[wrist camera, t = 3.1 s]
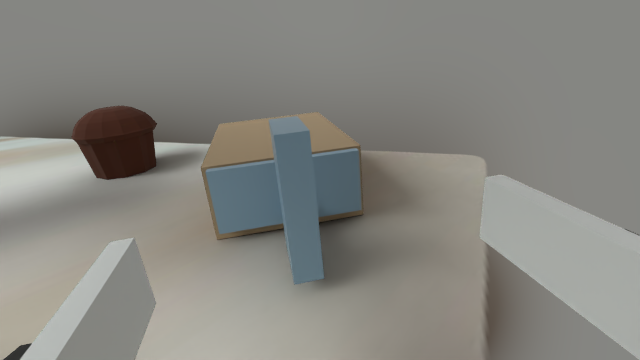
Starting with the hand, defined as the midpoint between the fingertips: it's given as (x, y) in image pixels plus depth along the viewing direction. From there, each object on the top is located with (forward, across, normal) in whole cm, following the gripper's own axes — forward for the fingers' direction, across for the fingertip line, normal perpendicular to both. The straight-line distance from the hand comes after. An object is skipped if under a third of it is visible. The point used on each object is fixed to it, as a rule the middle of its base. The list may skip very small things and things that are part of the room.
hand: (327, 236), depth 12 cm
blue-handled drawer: (+22, 0, -7) cm, 23 cm away
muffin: (+46, -24, -8) cm, 53 cm away
